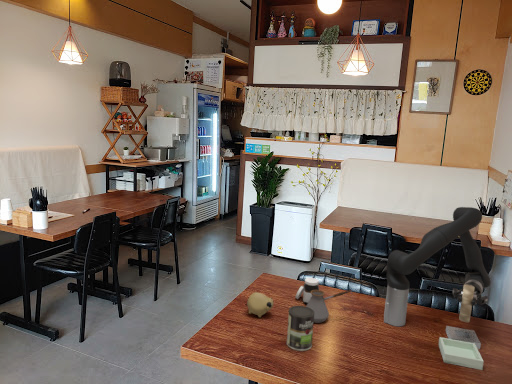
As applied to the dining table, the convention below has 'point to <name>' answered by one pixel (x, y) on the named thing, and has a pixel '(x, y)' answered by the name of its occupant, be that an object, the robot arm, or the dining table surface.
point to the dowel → (466, 303)
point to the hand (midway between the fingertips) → (466, 301)
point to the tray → (460, 353)
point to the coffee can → (300, 328)
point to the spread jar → (307, 289)
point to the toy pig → (259, 304)
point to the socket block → (463, 335)
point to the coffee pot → (320, 305)
